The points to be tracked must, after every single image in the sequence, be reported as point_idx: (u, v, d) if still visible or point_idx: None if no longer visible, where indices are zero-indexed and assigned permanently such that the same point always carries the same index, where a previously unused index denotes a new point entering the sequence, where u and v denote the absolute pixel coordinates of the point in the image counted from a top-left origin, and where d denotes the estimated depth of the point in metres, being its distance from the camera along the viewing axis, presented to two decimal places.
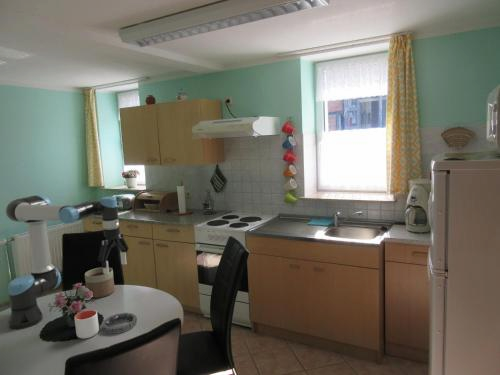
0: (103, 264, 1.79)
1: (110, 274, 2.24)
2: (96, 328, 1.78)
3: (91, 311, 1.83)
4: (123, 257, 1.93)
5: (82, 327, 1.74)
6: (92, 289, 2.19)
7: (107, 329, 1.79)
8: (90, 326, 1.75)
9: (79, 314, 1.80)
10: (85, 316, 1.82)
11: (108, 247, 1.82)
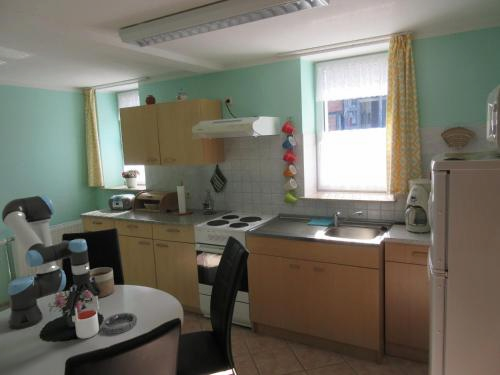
0: (71, 312, 1.69)
1: (110, 274, 2.24)
2: (96, 328, 1.78)
3: (91, 311, 1.83)
4: (95, 301, 1.83)
5: (82, 327, 1.74)
6: None
7: (107, 329, 1.79)
8: (90, 326, 1.75)
9: (79, 314, 1.80)
10: (85, 316, 1.82)
11: (77, 293, 1.72)
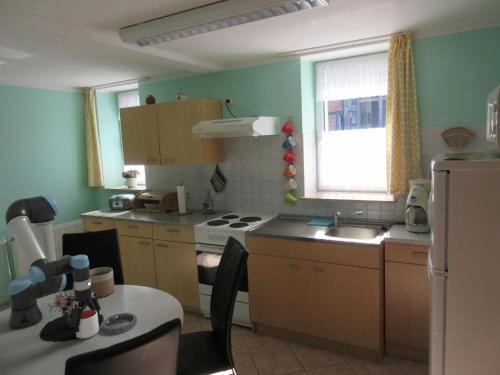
0: (76, 328, 1.72)
1: (110, 274, 2.24)
2: (96, 328, 1.78)
3: (91, 311, 1.83)
4: None
5: (82, 327, 1.74)
6: (92, 289, 2.19)
7: (107, 329, 1.79)
8: (90, 326, 1.75)
9: None
10: (85, 316, 1.82)
11: (80, 309, 1.74)
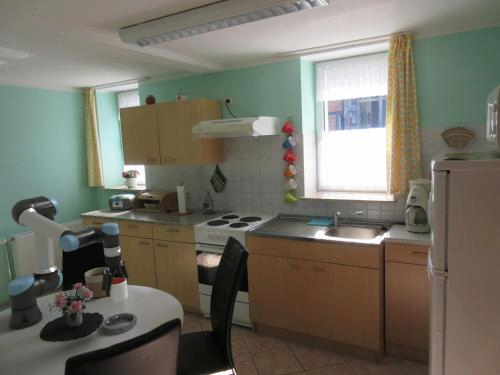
0: (107, 293, 1.77)
1: None
2: (126, 294, 1.83)
3: (120, 278, 1.88)
4: None
5: (113, 292, 1.79)
6: (92, 289, 2.19)
7: (107, 329, 1.79)
8: (120, 292, 1.80)
9: None
10: (114, 283, 1.88)
11: (110, 275, 1.79)
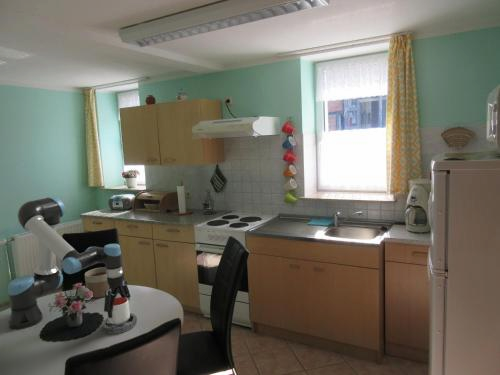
0: (109, 314, 1.79)
1: None
2: (127, 314, 1.84)
3: (122, 298, 1.89)
4: None
5: (115, 313, 1.80)
6: (92, 289, 2.19)
7: (107, 329, 1.79)
8: (122, 312, 1.81)
9: None
10: (116, 303, 1.89)
11: (112, 296, 1.80)
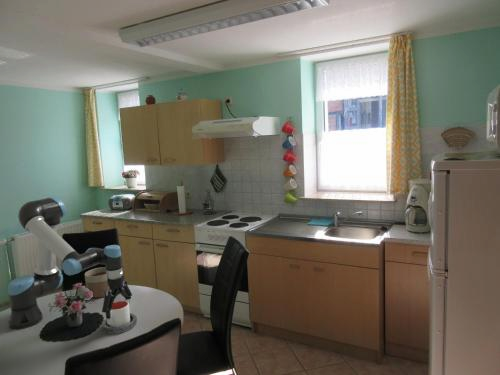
0: (107, 315, 1.77)
1: None
2: (128, 318, 1.85)
3: (122, 302, 1.90)
4: None
5: (115, 317, 1.81)
6: (92, 289, 2.19)
7: (107, 329, 1.79)
8: (122, 316, 1.82)
9: None
10: (116, 307, 1.89)
11: (112, 297, 1.80)
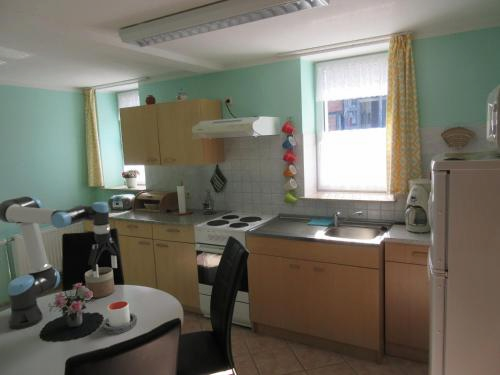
0: (93, 268, 1.83)
1: (110, 274, 2.24)
2: (128, 318, 1.85)
3: (122, 302, 1.90)
4: (114, 261, 1.97)
5: (115, 317, 1.81)
6: (92, 289, 2.19)
7: (107, 329, 1.79)
8: (122, 316, 1.82)
9: (111, 305, 1.87)
10: (116, 307, 1.89)
11: (98, 251, 1.86)
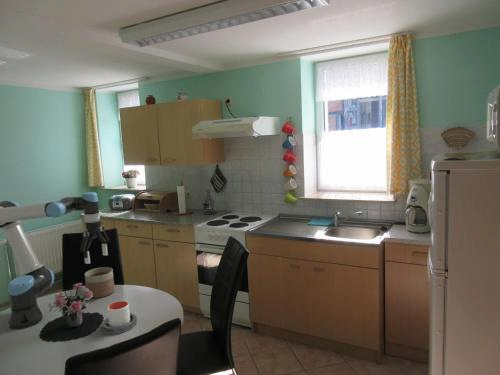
0: (84, 254, 1.93)
1: (110, 274, 2.24)
2: (128, 318, 1.85)
3: (122, 302, 1.90)
4: (104, 248, 2.07)
5: (115, 317, 1.81)
6: (92, 289, 2.19)
7: (107, 329, 1.79)
8: (122, 316, 1.82)
9: (111, 305, 1.87)
10: (116, 307, 1.89)
11: (89, 239, 1.96)
